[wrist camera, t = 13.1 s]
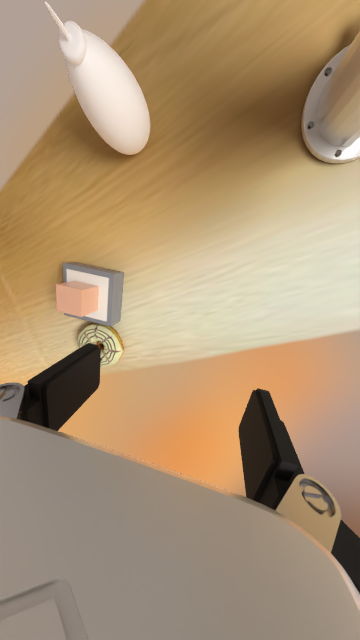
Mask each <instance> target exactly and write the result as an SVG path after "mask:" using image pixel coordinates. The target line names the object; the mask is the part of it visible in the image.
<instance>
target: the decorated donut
mask: <svg viewBox="0 0 360 640" xmlns="http://www.w3.org/2000/svg"><path fill="white" fill-rule="evenodd" d="M99 341H101V342H102V343H103V344H104V348H103V347H101V346H100V344H99ZM87 343H92V344H96V345H98V346H99V348H100V349H101V359H100V365H101V366H110V365H113V364H114V363H116V362H117V361H118V360H119V358H120V357H121V356H122V354H123V350H124V347H123V344H122V341H121V338H120V336H119V335H118V333H117V331H116V330H114V328H112V327H110V326H106V325H103V324H99V323H92V324H90V325H88V326H86V327H85V328H84V329H83V330H82V331H81V332H80V334H79V336H78V346H79V348H81V347H82V346H84V345H85V344H87Z"/></svg>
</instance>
